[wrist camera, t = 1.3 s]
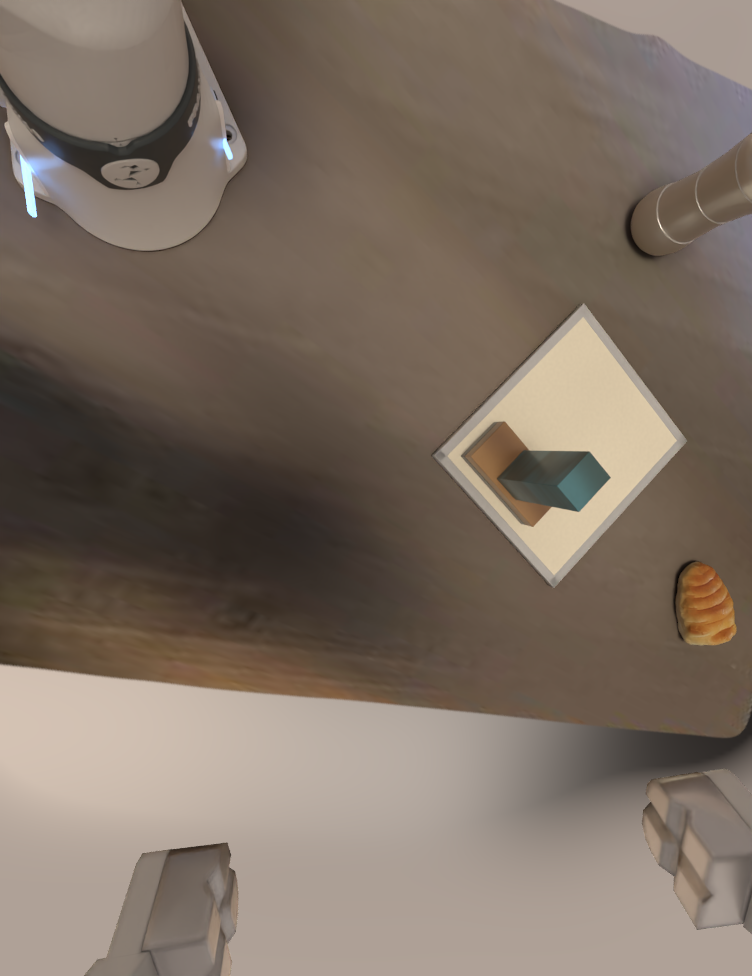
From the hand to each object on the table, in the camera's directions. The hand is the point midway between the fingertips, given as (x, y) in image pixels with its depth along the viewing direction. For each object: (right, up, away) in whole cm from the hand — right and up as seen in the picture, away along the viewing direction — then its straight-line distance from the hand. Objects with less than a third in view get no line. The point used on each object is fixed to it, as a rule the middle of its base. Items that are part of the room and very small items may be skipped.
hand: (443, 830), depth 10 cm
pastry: (+36, -7, +54) cm, 65 cm away
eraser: (+12, +8, +45) cm, 48 cm away
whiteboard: (+19, +11, +48) cm, 53 cm away
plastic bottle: (+28, +35, +48) cm, 66 cm away
